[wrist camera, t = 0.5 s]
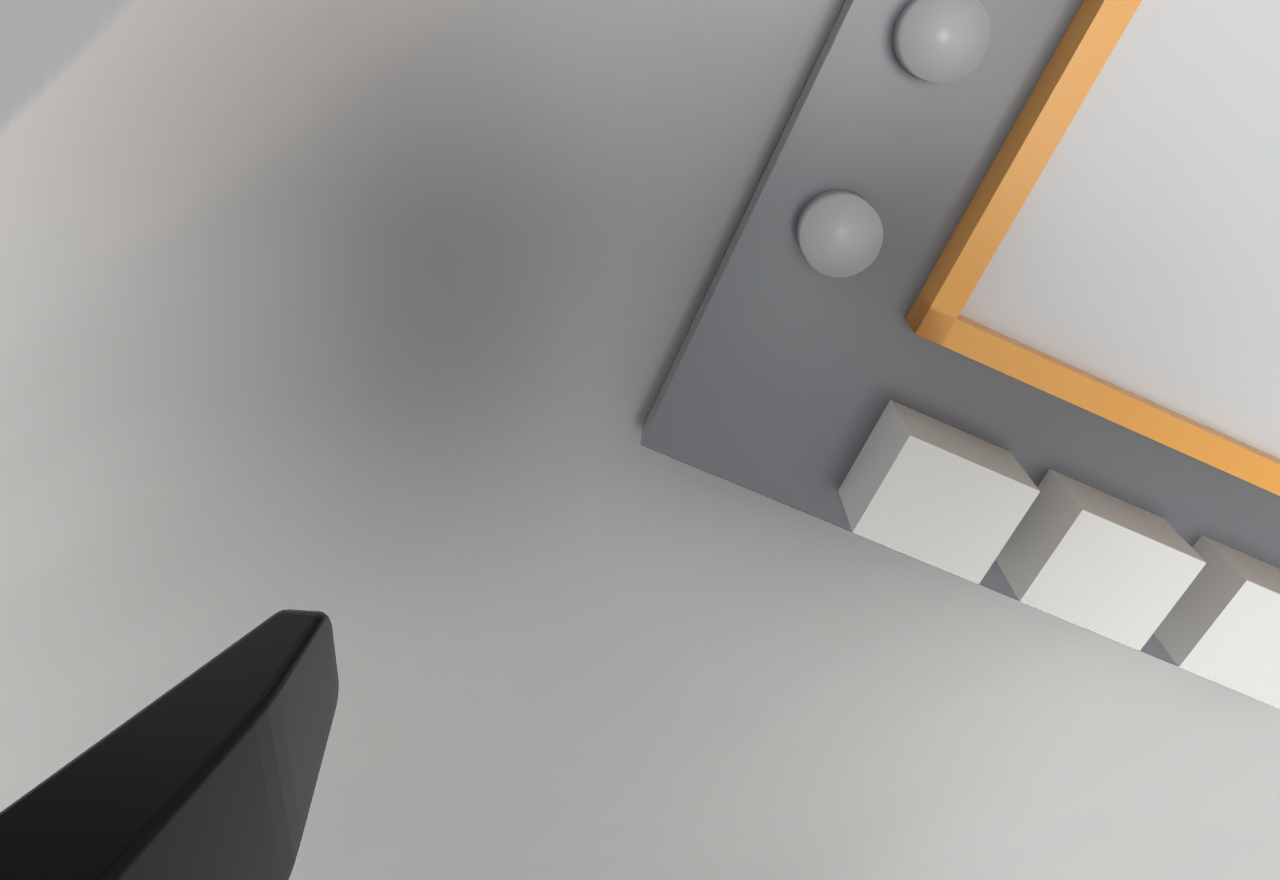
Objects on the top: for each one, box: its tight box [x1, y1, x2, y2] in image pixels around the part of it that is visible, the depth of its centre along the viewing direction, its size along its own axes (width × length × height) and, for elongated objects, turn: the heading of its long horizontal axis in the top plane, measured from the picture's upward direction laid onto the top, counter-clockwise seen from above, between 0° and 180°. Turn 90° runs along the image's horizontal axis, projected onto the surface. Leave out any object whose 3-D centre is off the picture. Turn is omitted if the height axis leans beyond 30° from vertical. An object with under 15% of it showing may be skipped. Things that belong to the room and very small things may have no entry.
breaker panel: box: [641, 0, 1280, 709], centre depth 20 cm, size 18×18×3 cm
